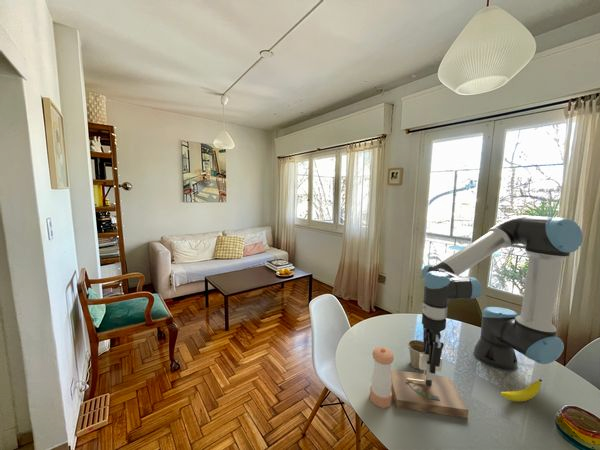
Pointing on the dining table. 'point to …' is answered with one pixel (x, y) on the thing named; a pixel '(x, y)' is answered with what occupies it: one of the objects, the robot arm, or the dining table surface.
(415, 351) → the flower pot
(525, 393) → the banana
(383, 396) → the salt shaker
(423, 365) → the white angular block
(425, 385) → the tuner board
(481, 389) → the dining table surface
